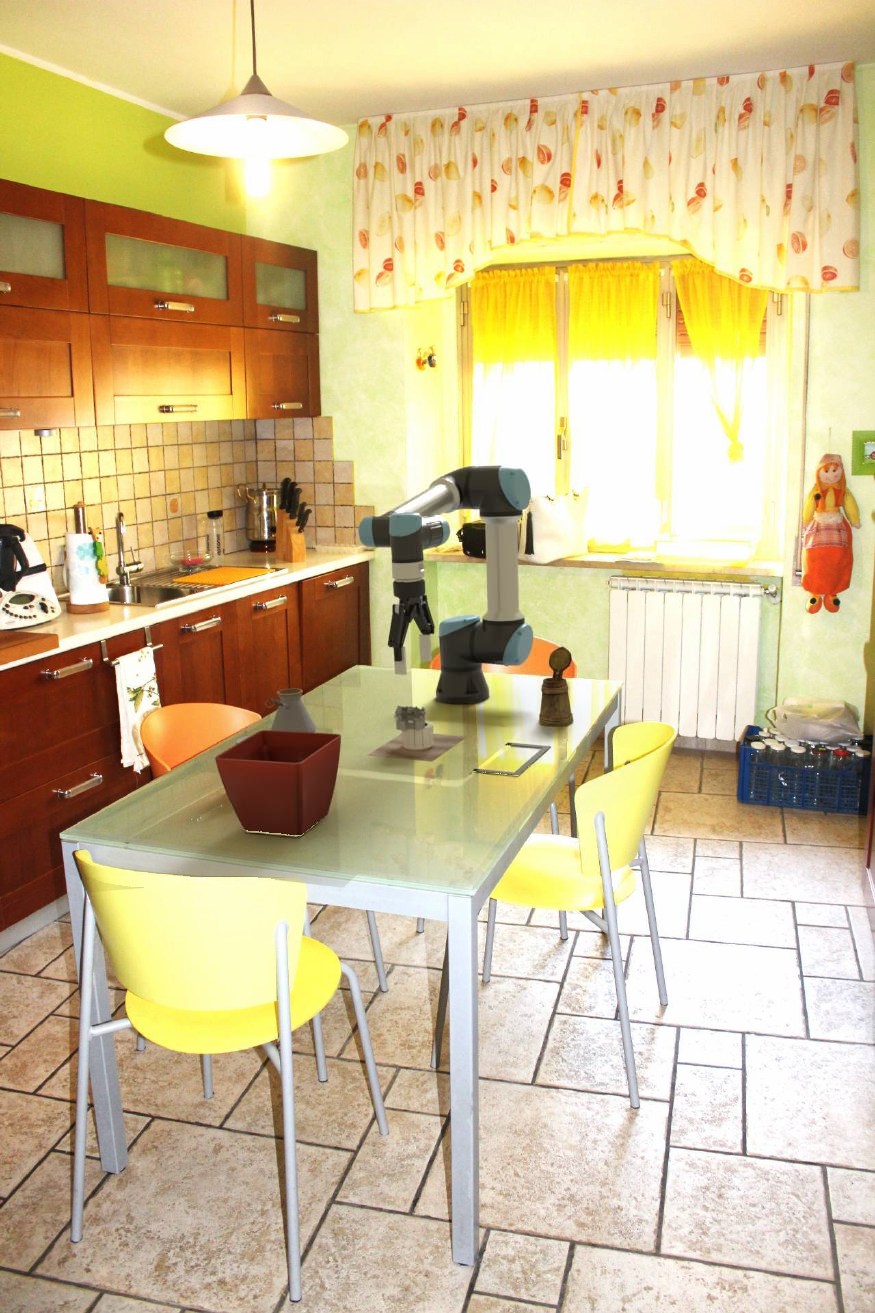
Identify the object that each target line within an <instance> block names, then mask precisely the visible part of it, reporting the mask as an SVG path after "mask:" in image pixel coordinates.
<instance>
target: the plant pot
mask: <svg viewBox="0 0 875 1313" xmlns="http://www.w3.org/2000/svg"><path fill="white" fill-rule="evenodd" d="M249 736H250V735H249ZM341 740H342V734H339V733H328V732H327V733H326V732H325V733H324V732H314V733H310V732H291V731H273V730H271V729H264V730H263V729H262V730H259V731H257V732H255V733H253V734H252V735H251V736H250V737H248V738H246V739H244V740H243V741H241V742H239V743H238V744H236V743H235V745H232V746H231V747H229V748H228V749H226V750H224V751H222V752H221V753H219V754H218V755H216V756H215V757H214V760H215V763H216V766H217V770H218V774H219V777H220V779H221V783H222V785H223V789H224V791H225V793H226V796H227V798H228V800H229V803H230V804H231V807H232V809H233V811H234V813H235V815H236V817H237V819H238V821H239V823H240V824H241V826H242V828H243V830H244V829H245V830H248V831H259V832H260V831H262V832H269V833H281V834H287V835H288V834H289V835H302V834H303V833H305V832H306V831H307V830H308V829H310V828H311V827H312V826H313V825H315V824H316V823H317V822H319V821H320V820H321V819H322V818H324V817H325V816H326V815H327V814H328V815H329V811H330V809H331V803H332V800H333V797H334V793H335V788H336V783H337V782H336V781H337V779H338V778H337V776H338V770H339V764H340V763H339V762H340V754H341V742H342V741H341ZM328 815H327V816H328ZM327 816H326V817H327ZM326 817H325V818H326ZM325 818H324V819H325ZM321 821H322V820H321ZM321 821H320V822H321ZM320 822H319V823H320ZM316 825H317V824H316ZM316 825H315V826H316ZM311 829H312V828H311ZM311 829H310V830H311ZM245 830H244V831H245ZM306 833H307V832H306ZM306 833H305V834H306Z"/></svg>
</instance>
